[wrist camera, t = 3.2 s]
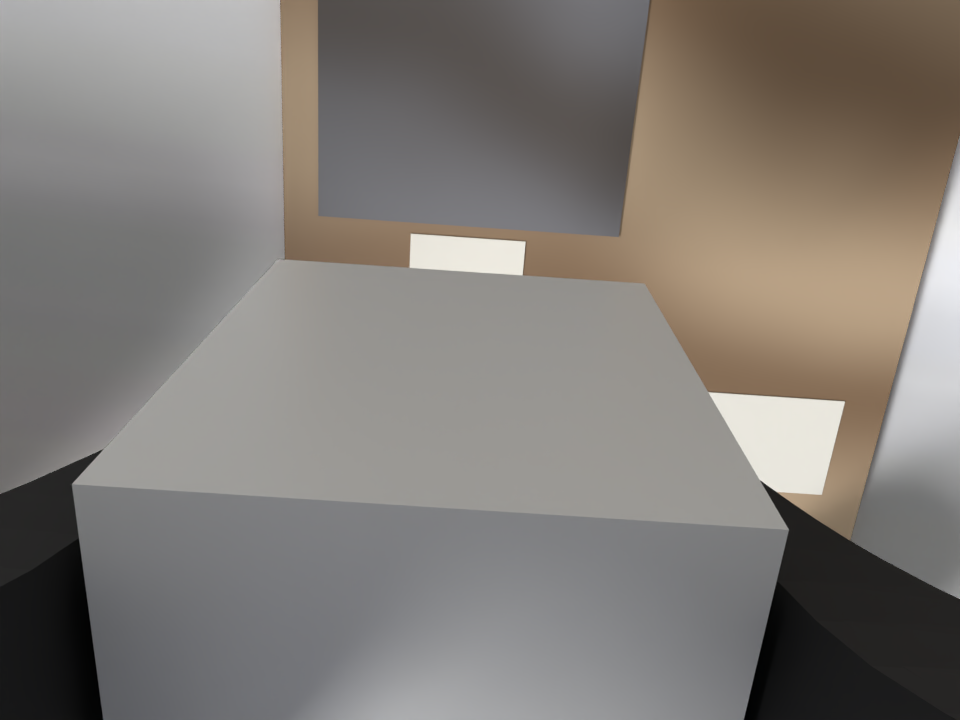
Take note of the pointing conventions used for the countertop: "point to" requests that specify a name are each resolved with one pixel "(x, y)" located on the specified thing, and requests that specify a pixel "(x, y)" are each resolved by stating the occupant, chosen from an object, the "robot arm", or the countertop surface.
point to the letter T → (751, 418)
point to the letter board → (650, 168)
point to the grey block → (428, 512)
